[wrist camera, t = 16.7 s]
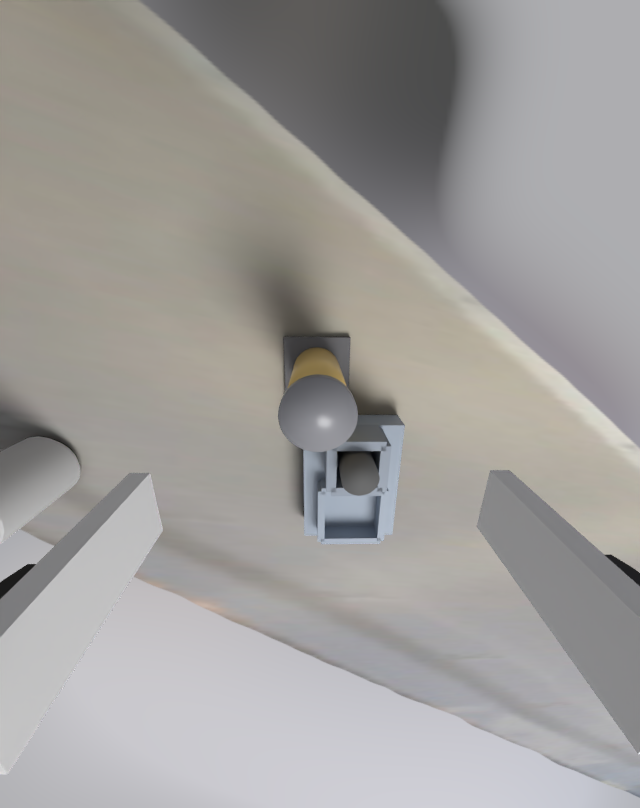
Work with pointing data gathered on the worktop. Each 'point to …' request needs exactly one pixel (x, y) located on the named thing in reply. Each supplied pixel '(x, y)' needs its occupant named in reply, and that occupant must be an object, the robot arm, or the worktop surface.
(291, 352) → the mat
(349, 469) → the plunger
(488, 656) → the worktop surface
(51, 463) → the can
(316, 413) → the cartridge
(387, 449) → the housing
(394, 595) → the worktop surface
